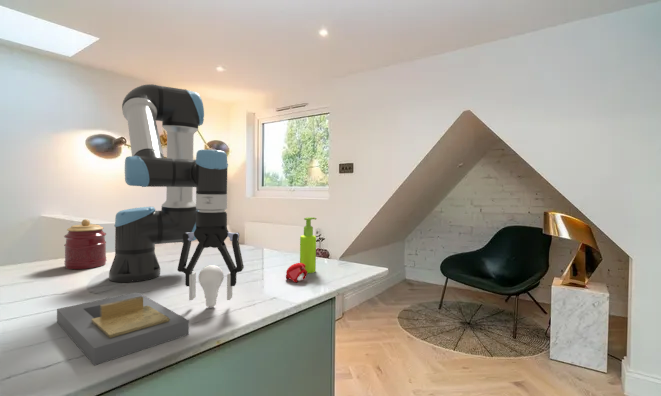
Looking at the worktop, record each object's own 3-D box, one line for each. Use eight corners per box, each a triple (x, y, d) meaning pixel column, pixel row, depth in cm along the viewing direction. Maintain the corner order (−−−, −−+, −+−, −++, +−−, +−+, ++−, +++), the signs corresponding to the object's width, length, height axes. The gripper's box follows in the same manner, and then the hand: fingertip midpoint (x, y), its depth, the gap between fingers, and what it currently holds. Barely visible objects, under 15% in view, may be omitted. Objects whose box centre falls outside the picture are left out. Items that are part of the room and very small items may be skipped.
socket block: (57, 322, 77) (56, 308, 77) (138, 303, 90) (138, 292, 90) (94, 365, 60) (94, 348, 59) (188, 334, 72) (188, 320, 72)
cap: (313, 270, 116) (302, 259, 119) (305, 268, 111) (294, 256, 114) (298, 288, 116) (287, 276, 119) (290, 287, 111) (278, 274, 114)
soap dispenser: (320, 270, 130) (321, 217, 129) (309, 273, 124) (310, 218, 123) (307, 267, 133) (308, 216, 132) (296, 271, 127) (297, 217, 126)
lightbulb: (202, 303, 91) (202, 262, 91) (225, 303, 92) (226, 262, 91) (195, 312, 85) (195, 268, 85) (220, 311, 86) (220, 268, 85)
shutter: (91, 321, 70) (91, 306, 70) (148, 308, 79) (148, 294, 79) (109, 338, 63) (109, 321, 63) (169, 321, 72) (169, 306, 71)
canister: (78, 262, 135) (78, 217, 135) (113, 261, 137) (112, 217, 136) (55, 270, 123) (55, 221, 122) (94, 269, 124) (94, 221, 123)
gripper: (162, 211, 83) (162, 303, 84) (251, 212, 84) (250, 303, 85) (174, 209, 90) (173, 294, 91) (256, 210, 92) (255, 293, 93)
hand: (211, 298), depth 88 cm, fingers open, 9 cm apart
